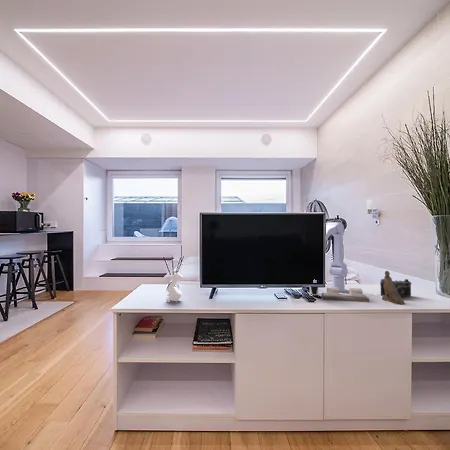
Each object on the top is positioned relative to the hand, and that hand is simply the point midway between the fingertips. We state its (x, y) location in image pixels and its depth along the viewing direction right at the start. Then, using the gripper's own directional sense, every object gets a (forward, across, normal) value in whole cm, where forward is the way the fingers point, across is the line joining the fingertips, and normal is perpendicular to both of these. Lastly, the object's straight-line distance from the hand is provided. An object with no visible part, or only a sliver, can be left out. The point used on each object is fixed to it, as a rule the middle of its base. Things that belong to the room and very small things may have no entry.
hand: (313, 293), depth 177 cm
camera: (+2, -6, +47) cm, 48 cm away
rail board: (+2, +3, +16) cm, 17 cm away
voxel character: (+2, +27, -78) cm, 82 cm away
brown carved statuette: (+2, +5, +42) cm, 42 cm away
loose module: (+2, 0, 0) cm, 2 cm away
